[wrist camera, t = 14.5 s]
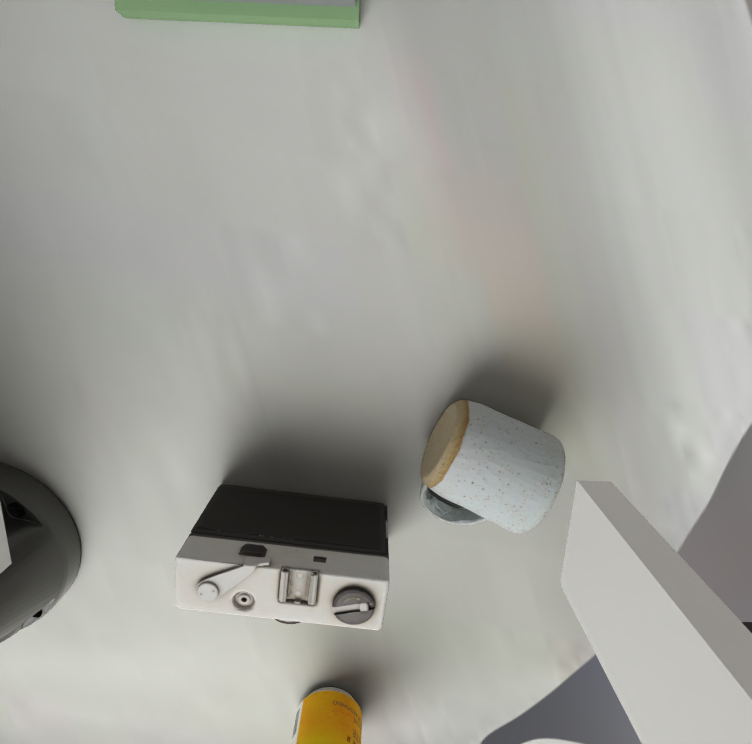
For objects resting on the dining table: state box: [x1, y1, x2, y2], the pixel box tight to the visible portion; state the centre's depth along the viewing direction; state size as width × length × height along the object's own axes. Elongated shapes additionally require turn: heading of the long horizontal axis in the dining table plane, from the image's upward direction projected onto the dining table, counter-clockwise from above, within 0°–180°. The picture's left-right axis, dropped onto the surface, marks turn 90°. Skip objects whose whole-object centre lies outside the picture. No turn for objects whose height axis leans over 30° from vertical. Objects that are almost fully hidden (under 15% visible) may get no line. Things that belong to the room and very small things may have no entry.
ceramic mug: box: [420, 400, 565, 534], centre depth 36 cm, size 11×8×8 cm
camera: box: [175, 485, 389, 630], centre depth 37 cm, size 14×8×10 cm, turn 82°
